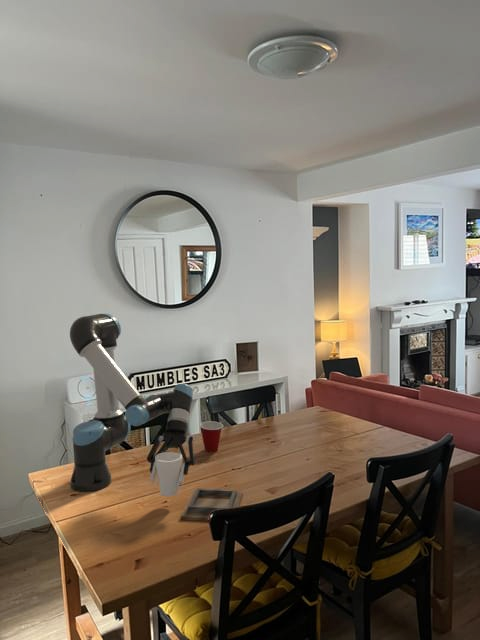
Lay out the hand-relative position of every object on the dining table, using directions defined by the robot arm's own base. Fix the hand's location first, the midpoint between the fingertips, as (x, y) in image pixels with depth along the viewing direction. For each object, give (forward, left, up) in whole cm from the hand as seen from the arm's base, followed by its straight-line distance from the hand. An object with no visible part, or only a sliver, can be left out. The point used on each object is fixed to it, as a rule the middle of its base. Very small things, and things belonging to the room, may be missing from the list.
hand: (166, 482), depth 180 cm
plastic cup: (+4, +58, -10) cm, 59 cm away
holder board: (+15, +3, -10) cm, 18 cm away
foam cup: (0, +3, -5) cm, 6 cm away
